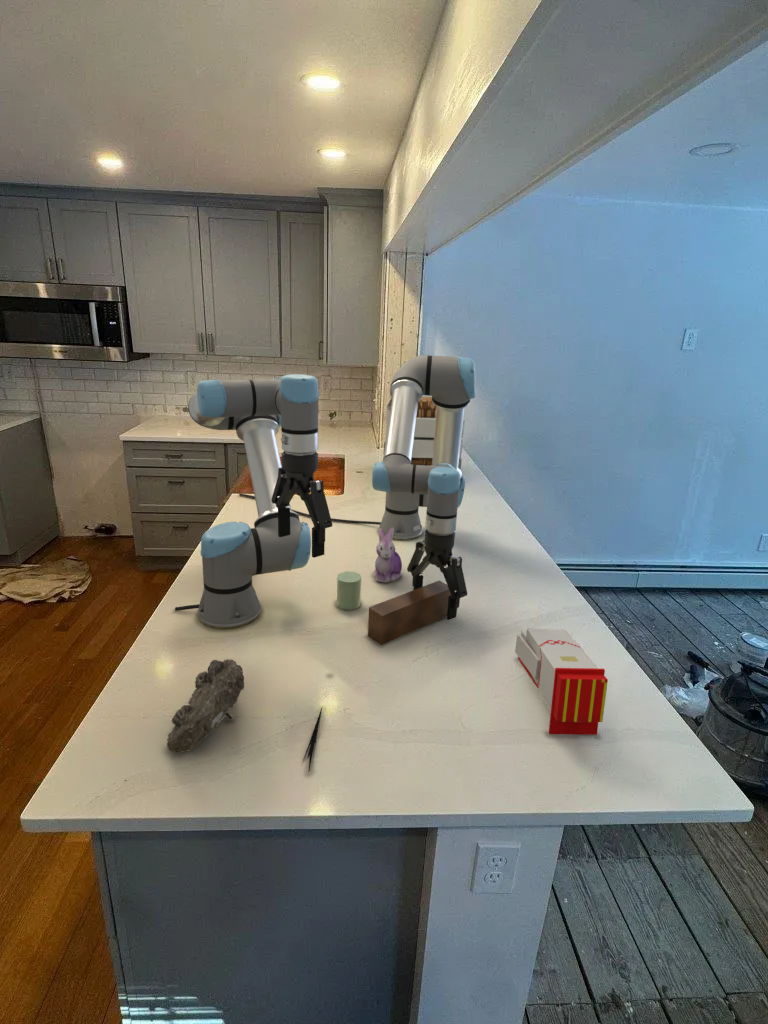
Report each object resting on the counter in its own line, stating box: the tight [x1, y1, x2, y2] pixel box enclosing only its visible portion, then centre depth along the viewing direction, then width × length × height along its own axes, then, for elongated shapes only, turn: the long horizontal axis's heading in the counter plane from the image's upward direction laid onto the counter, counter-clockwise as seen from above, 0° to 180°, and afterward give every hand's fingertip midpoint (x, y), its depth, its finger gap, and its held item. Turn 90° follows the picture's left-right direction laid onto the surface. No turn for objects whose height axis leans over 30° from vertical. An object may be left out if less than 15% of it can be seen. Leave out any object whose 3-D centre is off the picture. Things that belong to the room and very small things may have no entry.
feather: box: [301, 673, 332, 771], centre depth 108 cm, size 2×28×2 cm
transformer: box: [383, 396, 465, 471], centre depth 268 cm, size 34×33×41 cm
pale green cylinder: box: [336, 571, 362, 611], centre depth 150 cm, size 6×6×8 cm
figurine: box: [373, 528, 403, 583], centre depth 165 cm, size 9×10×15 cm
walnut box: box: [367, 580, 451, 646], centre depth 141 cm, size 24×5×8 cm, turn 131°
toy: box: [514, 627, 609, 736], centre depth 119 cm, size 12×13×30 cm
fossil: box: [166, 658, 245, 754], centre depth 106 cm, size 22×10×15 cm
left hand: (300, 545), depth 125 cm, fingers open, 13 cm apart
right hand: (433, 608), depth 147 cm, fingers open, 12 cm apart
